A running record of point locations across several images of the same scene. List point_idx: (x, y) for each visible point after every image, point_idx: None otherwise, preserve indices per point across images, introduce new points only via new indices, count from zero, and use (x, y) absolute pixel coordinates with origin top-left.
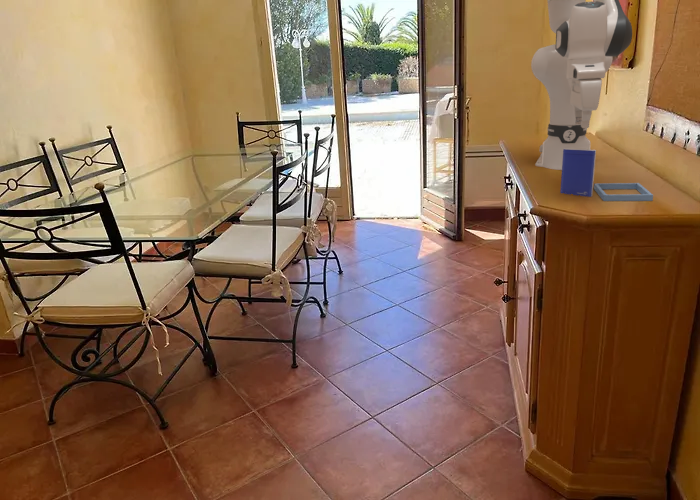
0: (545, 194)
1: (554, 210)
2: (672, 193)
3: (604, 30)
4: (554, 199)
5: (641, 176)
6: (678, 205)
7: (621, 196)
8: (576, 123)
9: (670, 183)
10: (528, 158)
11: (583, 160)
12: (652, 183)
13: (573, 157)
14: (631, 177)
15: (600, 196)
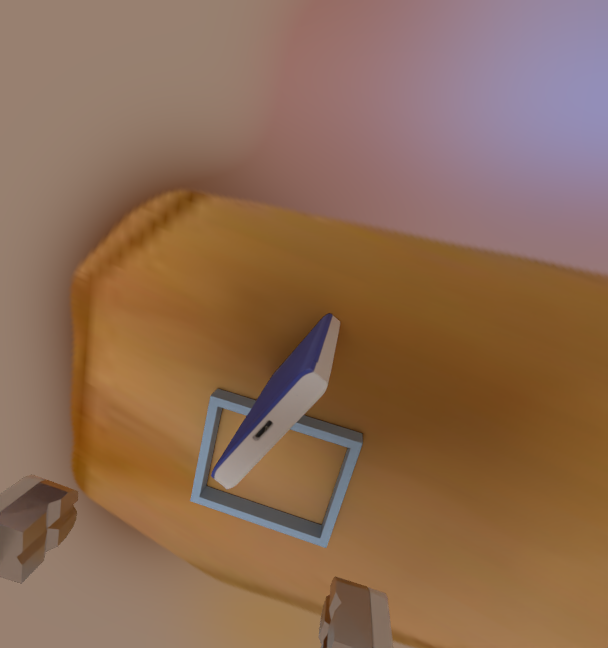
0: (337, 263)
1: (145, 218)
2: (255, 564)
3: None
4: (265, 267)
5: (466, 621)
6: (151, 510)
7: (204, 434)
8: (332, 580)
9: None
10: None
11: (252, 414)
12: None
13: (278, 389)
14: (466, 594)
15: None
